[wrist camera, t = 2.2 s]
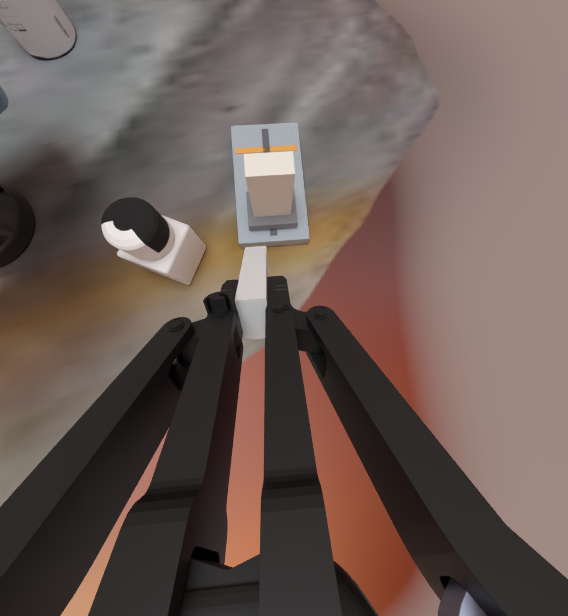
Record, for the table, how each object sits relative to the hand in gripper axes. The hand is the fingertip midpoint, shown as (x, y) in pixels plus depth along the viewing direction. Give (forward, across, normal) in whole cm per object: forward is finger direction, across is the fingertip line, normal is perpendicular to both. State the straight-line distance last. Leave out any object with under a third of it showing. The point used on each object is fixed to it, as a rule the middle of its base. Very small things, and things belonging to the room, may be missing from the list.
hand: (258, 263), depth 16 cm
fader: (+24, +1, -2) cm, 24 cm away
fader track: (+30, +1, +1) cm, 30 cm away
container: (+21, -16, -8) cm, 27 cm away
